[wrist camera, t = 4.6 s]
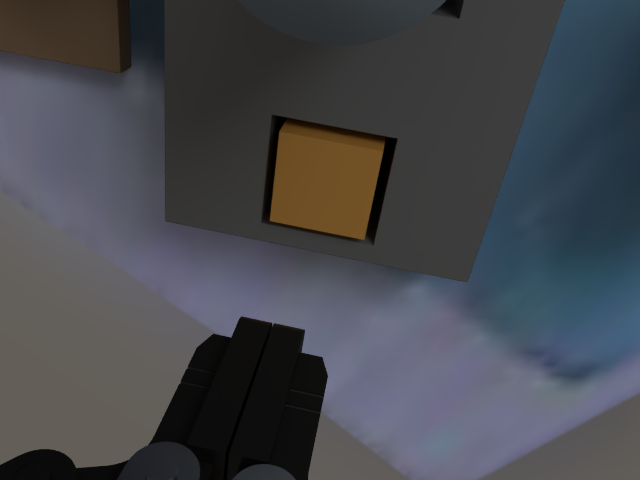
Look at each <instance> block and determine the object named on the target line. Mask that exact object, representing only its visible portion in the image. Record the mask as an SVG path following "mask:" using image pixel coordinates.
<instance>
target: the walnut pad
mask: <svg viewBox="0 0 640 480" xmlns="http://www.w3.org/2000/svg"><path fill="white" fill-rule="evenodd" d="M0 51H5V52H10V53H15V54H21V55H26V56H31V57H36V58H42V59H47V60H52V61H57V62H63V63H68V64H73V65H78V66H84V67H89V68H94V69H99V70H105V71H110V72H115V73H122V72H123V71H125V70H127V69H128V68H130V67H131V53H130V25H129V0H0Z"/></svg>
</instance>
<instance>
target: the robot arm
mask: <svg viewBox="0 0 640 480" xmlns="http://www.w3.org/2000/svg"><path fill="white" fill-rule="evenodd" d="M304 334H305V330H303V329H298V328H294V327H289V326H285V325H280V324H275V323H274V325H273V327H272V323H270V322H265V321H260V320H256V319H251V318H247V317H240V319H239V321H238V323H237V326H236V328H235V330H234V333H233V335H232V337H231V338H230V337H226V336H221V335H217V334H213V335H211V336H210V337H209V338H208V339H207V340H205V341H204V342H203V343H202V344H201V345H200V346H198V347H197V349H196V351H195V353H194V355H193V357H192V359H191V361H190V363H189V365H188V369H186V371H185V373H184V375H183V377H182V380H181V384H179V386H178V388H177V390H176V392H175V394H174V396H173V398H172V400H171V402H170V404H169V406H168V408H167V410H166V412H165V415H164V417H163V419H162V421H161V423H160V425H159V427H158V429H157V431H156V433H155V435H154V437H153V439H152V441H151V442H150V443H149V445H148V446H145V447H144V448H142V449H140V450H139V451H137V452H136V453H135V454H134V455H133V456H132V457H131V458H130V459H129V460H127V461H125V462H122V463H119V464H115V465H109V466H98V467H87V468H76V467H75V465H74V463H73V461H72V460H71V459H70V458H69V457H68V456H67V455H65V454H64V453H61V452H59V451H55V450H49V449H40V450H34V451H30V452H27V453H24V454H22V455H20V456H17V457H15V458H13V459H12V460H9V461H7V462H5V463H3V464H1V465H0V480H308V472H309V467H310V462H311V457H312V452H313V447H314V442H315V437H316V432H317V428H318V422H319V418H320V413H321V408H322V403H323V398H324V393H325V388H326V383H327V378H328V375H327V371H326V368H325V365H324V361H323V358H322V357H319V356H314V355H310V354H305V353H301V352H302V346H303V340H304Z"/></svg>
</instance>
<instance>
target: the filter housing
mask: <svg viewBox="0 0 640 480" xmlns="http://www.w3.org/2000/svg"><path fill="white" fill-rule="evenodd" d="M564 1H565V0H446V1H445V2H444V3H443V4H442V5H441V6H440V7H439V8H437V9H436V10H435V11H433V12H432V13H431V14H430V15H428V16H427V17H426V18H425V19H423V20H421V21H420V22H418V23H417V24H415V25H413V26H412V27H410V28H408V29H406V30H404V31H402V32H400V33H397V34H395V35H393V36H391V37H388V38H384V39H381V40H378V41H374V42H371V43H364V44H358V45H340V46H334V45H325V44H316V43H312V42H308V41H305V40H301V39H297V38H295V37H292V36H290V35H287V34H285V33H282V32H280V31H278V30H277V29H275V28H273V27H271V26H269V25H268V24H266V23H264V22H263V21H262V20H260V19H259V18H257V17H256V16H255V15H253V14H252V13H251V12H249V11H248V10H247V9H246V8H245V7H244V6H243V5H242V4H241V3H240V2H239V1H238V0H164V20H165V221H167V222H172V223H177V224H182V225H187V226H192V227H197V228H202V229H207V230H212V231H216V232H221V233H226V234H231V235H236V236H241V237H246V238H251V239H256V240H261V241H266V242H271V243H275V244H280V245H285V246H290V247H295V248H300V249H305V250H310V251H315V252H320V253H325V254H330V255H334V256H339V257H344V258H349V259H354V260H359V261H364V262H369V263H374V264H379V265H384V266H388V267H393V268H398V269H403V270H408V271H413V272H418V273H423V274H428V275H433V276H438V277H443V278H447V279H452V280H457V281H462V282H468V279H469V276H470V273H471V270H472V267H473V264H474V261H475V259H476V256H477V253H478V250H479V247H480V244H481V241H482V238H483V235H484V233H485V230H486V227H487V224H488V221H489V218H490V215H491V212H492V209H493V206H494V204H495V201H496V198H497V195H498V192H499V189H500V186H501V183H502V180H503V178H504V175H505V172H506V169H507V166H508V163H509V160H510V157H511V154H512V151H513V149H514V146H515V143H516V140H517V137H518V134H519V131H520V128H521V125H522V122H523V120H524V117H525V114H526V111H527V108H528V105H529V102H530V99H531V96H532V94H533V91H534V88H535V85H536V82H537V79H538V76H539V73H540V70H541V67H542V65H543V62H544V59H545V56H546V53H547V50H548V47H549V44H550V41H551V39H552V36H553V33H554V30H555V27H556V24H557V21H558V18H559V15H560V12H561V10H562V7H563V4H564ZM287 118H293V119H298V120H303V121H308V122H314V123H319V124H324V125H329V126H334V127H340V128H345V129H350V130H355V131H361V132H366V133H371V134H376V135H381V136H387V137H392V138H394V139H393V144H392V148H391V153H390V157H389V162H388V166H387V171H386V175H385V180H384V184H383V188H382V193H381V197H377V196H374V197H373V202H372V207H371V211H370V216H369V221H368V225H367V230H366V234H365V239H364V240H362V239H357V238H352V237H347V236H342V235H337V234H332V233H327V232H322V231H317V230H312V229H307V228H302V227H297V226H292V225H287V224H282V223H277V222H273V221H270V214H271V205H272V196H273V187H274V177H275V168H276V159H277V150H278V140H279V131H280V130H281V128H282V126H283V124H284V123H285V121H286V119H287Z"/></svg>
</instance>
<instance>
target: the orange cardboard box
mask: <svg viewBox="0 0 640 480" xmlns="http://www.w3.org/2000/svg"><path fill="white" fill-rule="evenodd" d="M385 138H386V136H381V135H376V134H371V133H366V132H361V131H355V130H350V129H345V128H340V127H334V126H329V125H324V124H319V123H314V122H308V121H303V120H298V119H293V118H287V119H286V121H285V123H284V124H283V126H282V128H281V130H280V131H279V140H278V150H277V159H276V168H275V177H274V187H273V196H272V205H271V214H270V221H273V222H277V223H282V224H287V225H292V226H297V227H302V228H307V229H312V230H317V231H322V232H327V233H332V234H337V235H342V236H347V237H352V238H357V239H362V240H364V239H365V234H366V230H367V225H368V221H369V216H370V211H371V207H372V202H373V197H374V193H375V188H376V183H377V179H378V174H379V169H380V165H381V160H382V156H383V151H384V144H385Z"/></svg>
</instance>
